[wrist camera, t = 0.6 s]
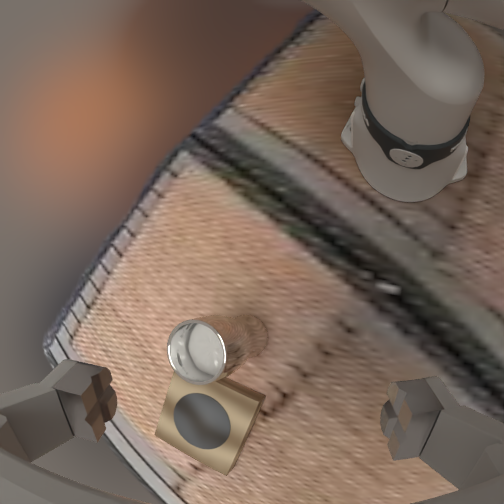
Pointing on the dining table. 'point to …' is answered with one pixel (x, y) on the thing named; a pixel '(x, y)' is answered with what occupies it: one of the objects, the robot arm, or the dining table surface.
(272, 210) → the dining table surface
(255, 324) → the beer glass
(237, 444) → the brass stand
